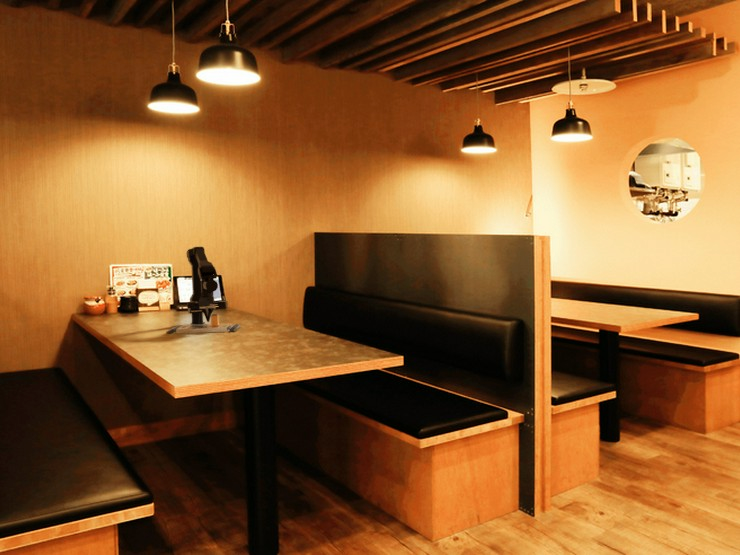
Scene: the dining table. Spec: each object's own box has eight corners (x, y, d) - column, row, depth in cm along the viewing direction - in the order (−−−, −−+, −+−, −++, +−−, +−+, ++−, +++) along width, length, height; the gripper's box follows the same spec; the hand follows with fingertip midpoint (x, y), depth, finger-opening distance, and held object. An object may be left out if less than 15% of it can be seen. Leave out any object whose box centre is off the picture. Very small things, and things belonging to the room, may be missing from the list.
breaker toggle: (213, 324, 310) (212, 313, 310) (219, 324, 310) (218, 313, 310) (211, 325, 306) (211, 314, 306) (217, 325, 306) (217, 314, 306)
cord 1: (175, 328, 316) (175, 325, 316) (181, 328, 316) (181, 325, 316) (165, 333, 299) (165, 330, 299) (172, 333, 299) (172, 330, 299)
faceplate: (184, 328, 315) (184, 324, 315) (232, 327, 316) (232, 322, 316) (176, 333, 300) (176, 328, 300) (227, 331, 301) (226, 327, 301)
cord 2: (235, 326, 318) (235, 323, 317) (241, 326, 318) (241, 323, 318) (229, 332, 300) (228, 328, 300) (235, 332, 300) (235, 328, 300)
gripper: (183, 292, 299) (184, 324, 300) (223, 291, 299) (224, 323, 300) (189, 290, 310) (190, 321, 311) (227, 289, 310) (228, 320, 312)
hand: (208, 321), depth 308 cm, fingers closed
